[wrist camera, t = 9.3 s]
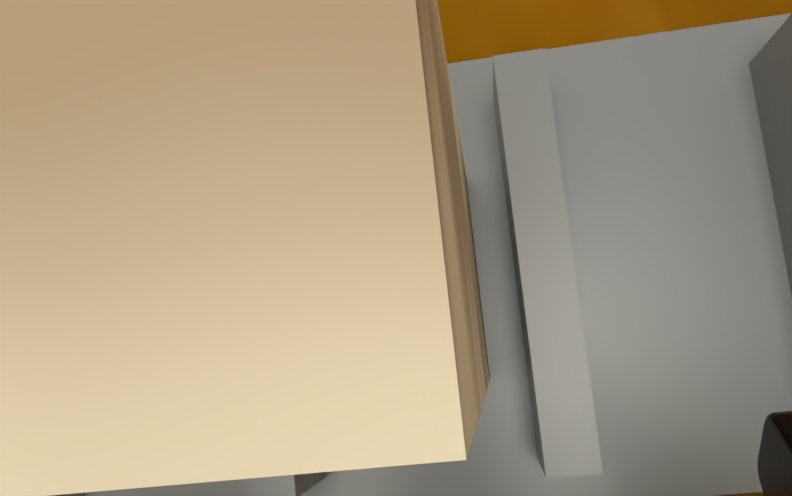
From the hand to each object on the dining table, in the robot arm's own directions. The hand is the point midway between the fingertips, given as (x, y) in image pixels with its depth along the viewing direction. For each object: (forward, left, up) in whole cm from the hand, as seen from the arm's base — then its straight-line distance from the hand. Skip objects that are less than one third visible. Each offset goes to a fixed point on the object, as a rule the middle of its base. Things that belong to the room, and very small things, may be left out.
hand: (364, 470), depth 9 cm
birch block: (+3, -1, -8) cm, 8 cm away
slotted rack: (+3, -1, -8) cm, 9 cm away
